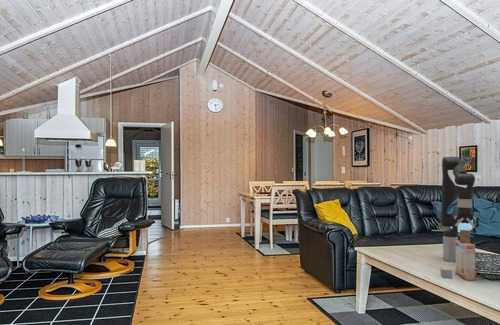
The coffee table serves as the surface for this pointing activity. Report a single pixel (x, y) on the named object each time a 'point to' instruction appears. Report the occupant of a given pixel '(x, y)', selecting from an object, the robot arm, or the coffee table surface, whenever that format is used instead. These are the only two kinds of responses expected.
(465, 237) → the walnut block
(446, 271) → the grey block
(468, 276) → the cracker box
